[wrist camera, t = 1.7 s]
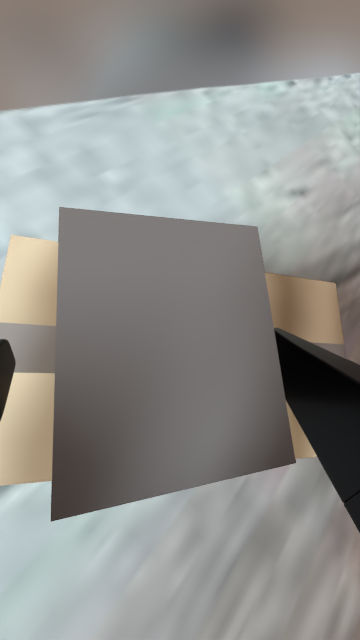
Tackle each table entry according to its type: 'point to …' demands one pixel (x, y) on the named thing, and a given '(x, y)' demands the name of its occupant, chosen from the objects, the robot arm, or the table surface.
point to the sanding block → (161, 360)
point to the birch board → (40, 343)
